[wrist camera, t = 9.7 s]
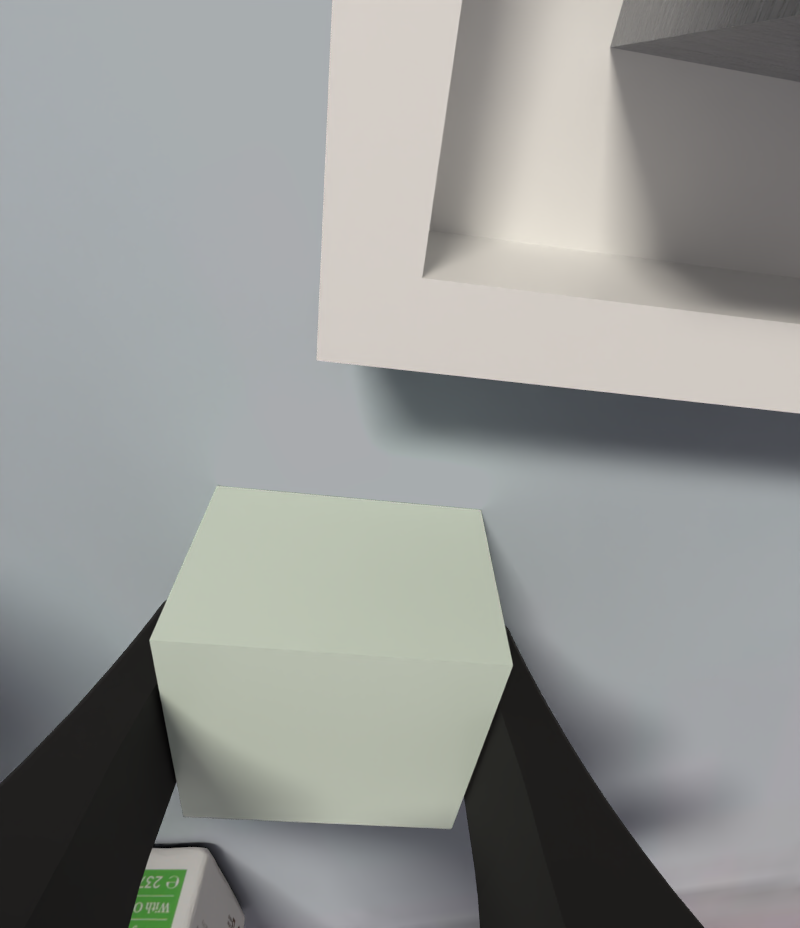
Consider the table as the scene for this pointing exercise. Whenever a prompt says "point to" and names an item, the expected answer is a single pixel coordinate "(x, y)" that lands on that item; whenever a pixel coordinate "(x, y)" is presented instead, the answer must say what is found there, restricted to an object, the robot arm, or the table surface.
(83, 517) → the table surface
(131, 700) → the robot arm
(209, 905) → the skincare box
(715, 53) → the metal block
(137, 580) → the table surface
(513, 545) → the table surface
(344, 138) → the box
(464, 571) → the pale green box
